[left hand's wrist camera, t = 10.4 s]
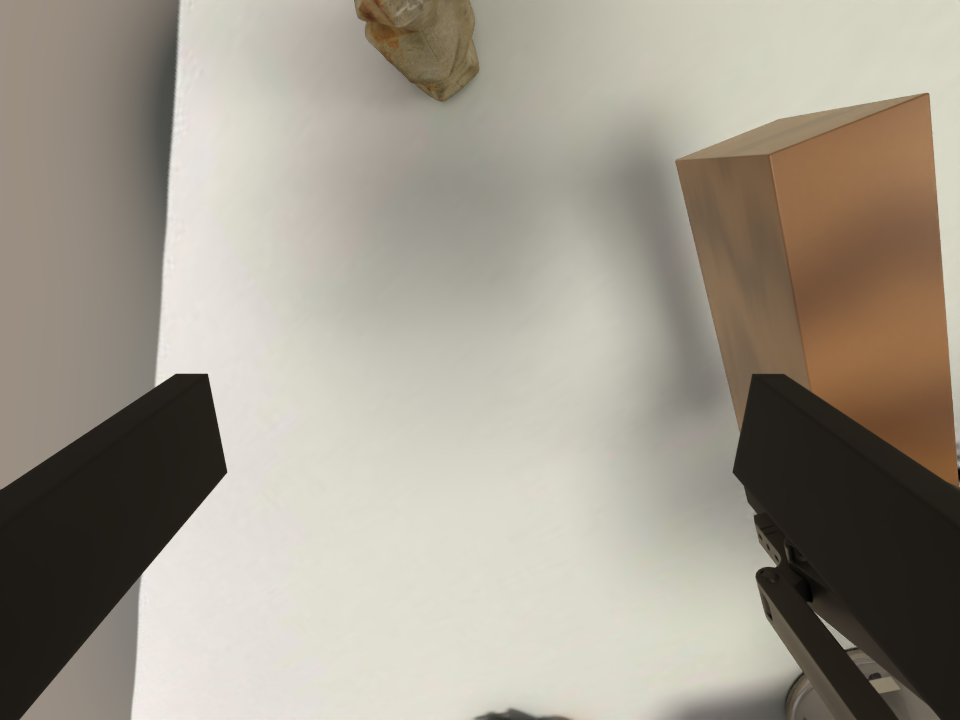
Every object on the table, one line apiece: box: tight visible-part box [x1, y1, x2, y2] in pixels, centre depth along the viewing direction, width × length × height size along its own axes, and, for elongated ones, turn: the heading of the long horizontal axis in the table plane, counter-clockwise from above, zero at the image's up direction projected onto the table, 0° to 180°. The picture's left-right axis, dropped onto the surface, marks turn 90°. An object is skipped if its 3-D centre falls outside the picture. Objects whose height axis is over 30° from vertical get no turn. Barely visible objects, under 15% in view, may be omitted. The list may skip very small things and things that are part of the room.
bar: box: [675, 93, 959, 487], centre depth 24 cm, size 23×5×9 cm, turn 21°
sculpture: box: [354, 0, 479, 101], centre depth 28 cm, size 6×7×15 cm
